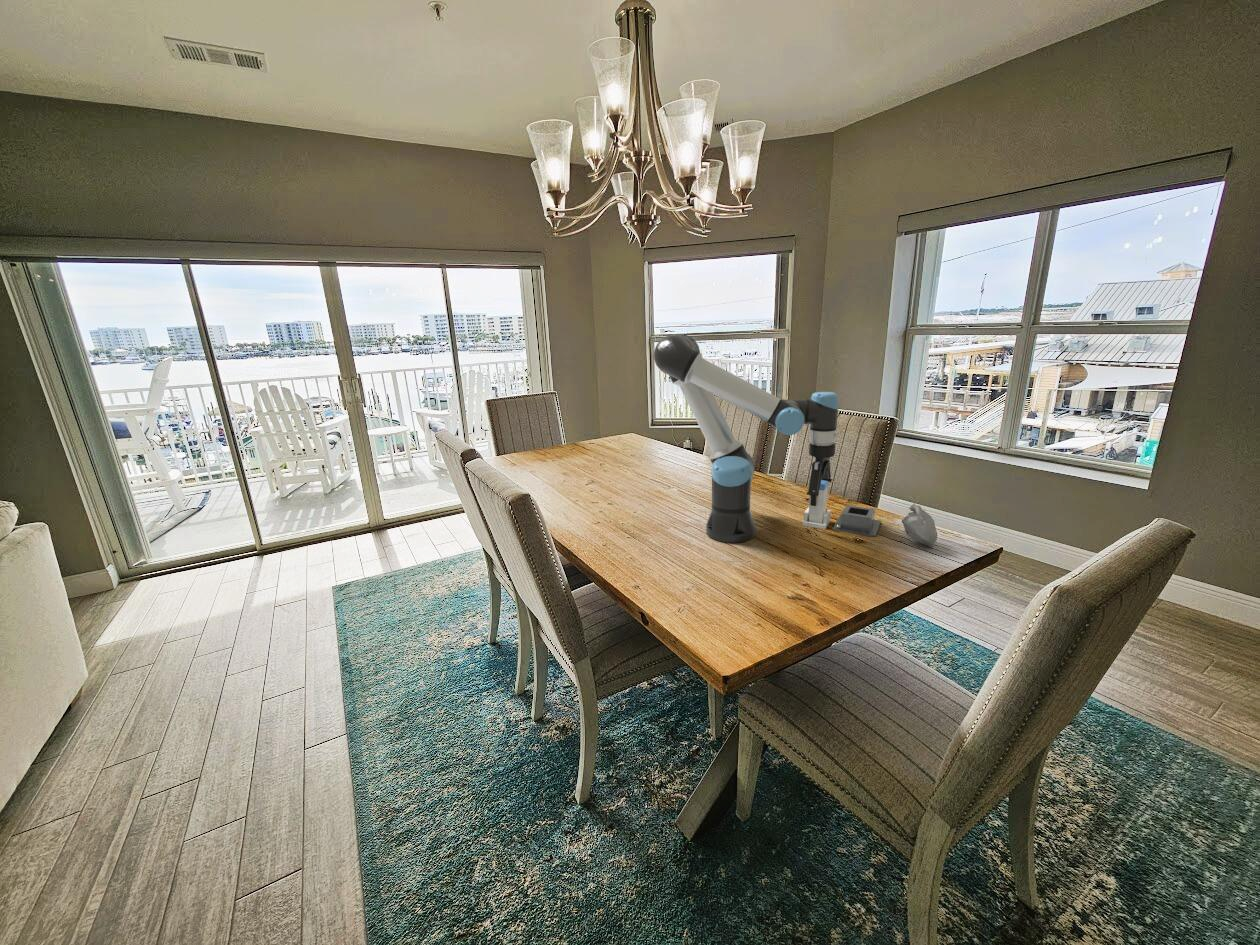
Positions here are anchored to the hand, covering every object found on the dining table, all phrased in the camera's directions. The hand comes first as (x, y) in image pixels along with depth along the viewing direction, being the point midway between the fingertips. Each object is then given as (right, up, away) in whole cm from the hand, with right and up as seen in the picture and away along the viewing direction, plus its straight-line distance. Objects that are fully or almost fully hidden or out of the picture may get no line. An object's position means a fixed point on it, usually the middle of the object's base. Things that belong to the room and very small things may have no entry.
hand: (818, 507), depth 153 cm
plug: (0, -5, +2) cm, 5 cm away
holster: (0, -5, +2) cm, 5 cm away
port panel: (+11, -6, -2) cm, 13 cm away
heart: (+22, -10, -17) cm, 30 cm away
